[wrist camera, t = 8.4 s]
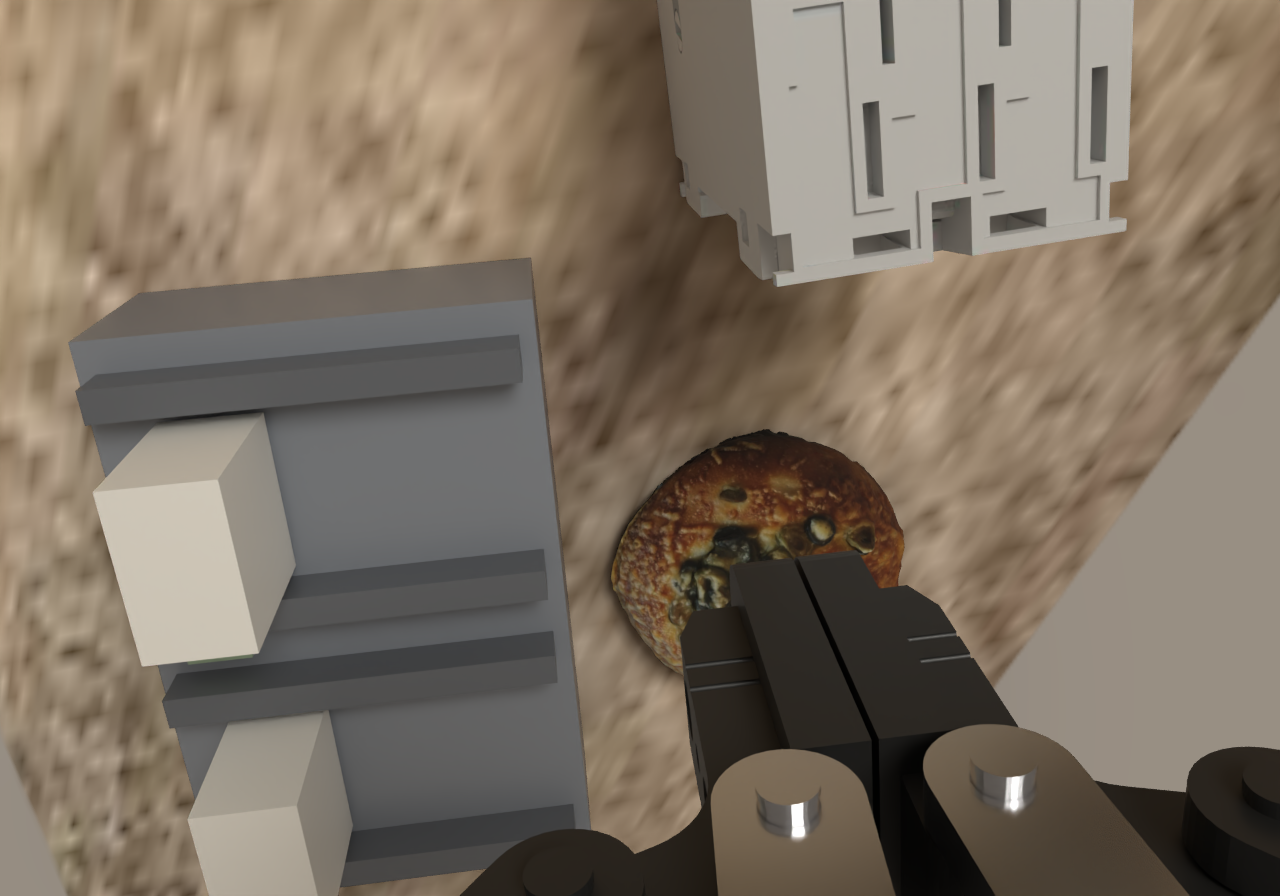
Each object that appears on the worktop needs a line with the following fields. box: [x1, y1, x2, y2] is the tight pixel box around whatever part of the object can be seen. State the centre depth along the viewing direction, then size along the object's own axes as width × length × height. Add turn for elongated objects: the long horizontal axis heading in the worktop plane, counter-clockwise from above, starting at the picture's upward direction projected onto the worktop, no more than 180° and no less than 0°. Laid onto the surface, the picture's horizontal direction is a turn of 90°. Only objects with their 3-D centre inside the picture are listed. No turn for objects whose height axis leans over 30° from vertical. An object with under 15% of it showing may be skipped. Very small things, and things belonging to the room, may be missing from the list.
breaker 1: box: [93, 412, 296, 667], centre depth 30 cm, size 3×5×5 cm, turn 4°
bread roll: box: [611, 429, 905, 675], centre depth 40 cm, size 11×11×5 cm
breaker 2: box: [188, 710, 353, 896], centre depth 33 cm, size 3×5×5 cm, turn 4°
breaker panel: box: [68, 258, 591, 887], centre depth 36 cm, size 13×20×8 cm, turn 4°
